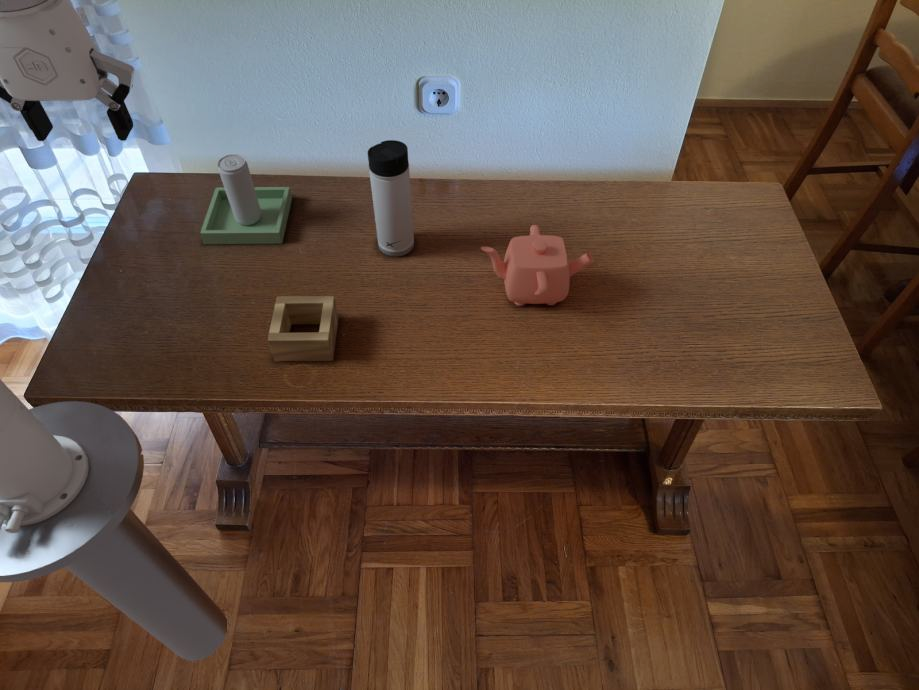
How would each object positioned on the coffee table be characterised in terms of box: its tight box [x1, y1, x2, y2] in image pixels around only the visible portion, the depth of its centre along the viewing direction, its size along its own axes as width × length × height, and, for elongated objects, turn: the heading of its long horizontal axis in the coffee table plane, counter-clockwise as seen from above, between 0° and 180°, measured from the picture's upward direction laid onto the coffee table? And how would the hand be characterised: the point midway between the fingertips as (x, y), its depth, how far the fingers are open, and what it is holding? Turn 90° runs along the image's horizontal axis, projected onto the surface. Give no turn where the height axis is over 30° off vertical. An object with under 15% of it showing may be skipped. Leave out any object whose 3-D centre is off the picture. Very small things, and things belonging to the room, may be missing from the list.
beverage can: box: [217, 153, 262, 225], centre depth 113 cm, size 5×5×12 cm
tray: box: [200, 186, 293, 245], centre depth 118 cm, size 13×14×3 cm
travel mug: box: [367, 139, 415, 257], centre depth 107 cm, size 6×7×20 cm
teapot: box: [480, 224, 595, 306], centre depth 104 cm, size 14×12×10 cm
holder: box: [267, 295, 339, 362], centre depth 99 cm, size 9×9×5 cm
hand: (86, 134), depth 79 cm, fingers open, 9 cm apart
